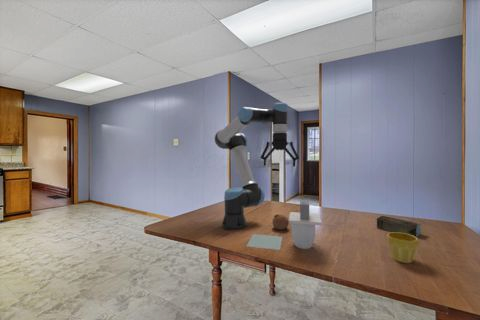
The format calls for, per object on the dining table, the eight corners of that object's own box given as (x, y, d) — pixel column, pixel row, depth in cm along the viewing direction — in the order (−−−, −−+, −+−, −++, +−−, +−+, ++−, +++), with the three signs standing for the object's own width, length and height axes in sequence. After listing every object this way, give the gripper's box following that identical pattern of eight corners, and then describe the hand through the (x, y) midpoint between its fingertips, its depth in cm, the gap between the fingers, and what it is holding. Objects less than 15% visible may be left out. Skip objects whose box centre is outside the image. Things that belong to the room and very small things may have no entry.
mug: (304, 238, 115) (304, 213, 115) (324, 244, 107) (324, 218, 106) (286, 246, 106) (286, 219, 105) (306, 254, 97) (306, 225, 97)
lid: (288, 223, 100) (288, 205, 100) (290, 214, 114) (290, 198, 113) (321, 225, 96) (321, 206, 96) (318, 216, 110) (318, 199, 110)
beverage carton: (416, 238, 113) (417, 225, 113) (375, 228, 128) (375, 217, 128) (421, 234, 118) (421, 222, 118) (381, 225, 133) (381, 214, 133)
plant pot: (381, 254, 96) (381, 232, 96) (403, 252, 97) (403, 231, 97) (400, 266, 86) (400, 241, 86) (424, 264, 87) (425, 240, 86)
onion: (274, 234, 128) (266, 219, 129) (283, 226, 135) (275, 211, 135) (286, 233, 121) (277, 217, 122) (294, 224, 128) (286, 209, 128)
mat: (246, 247, 105) (246, 246, 105) (253, 235, 121) (253, 234, 121) (280, 250, 101) (279, 249, 101) (282, 237, 116) (282, 236, 116)
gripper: (255, 132, 117) (255, 172, 118) (304, 131, 110) (303, 173, 112) (258, 133, 124) (257, 170, 125) (303, 132, 118) (303, 172, 119)
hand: (279, 172), depth 119 cm, fingers open, 13 cm apart
